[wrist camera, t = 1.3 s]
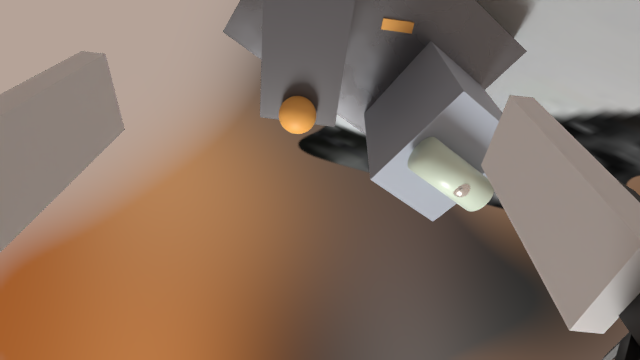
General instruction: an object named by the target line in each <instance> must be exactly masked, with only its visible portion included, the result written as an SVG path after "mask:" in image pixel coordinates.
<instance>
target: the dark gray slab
mask: <svg viewBox="0 0 640 360" xmlns="http://www.w3.org/2000/svg"><path fill="white" fill-rule="evenodd" d="M354 2H355V0H263V21H262V62H261V63H262V64H261V102H260V117H265V118H272V119H279V120H280V122H281V125H282V126H283V127H284V128H285V129H286V130H287V131H289V132H291V133H294V134H301V133H304V132H307V131H308V130H310V129H311V128H312V126H313V125H314V124H318V125H325V126H333V127H335V122H336V115H337V109H338V103H339V97H340V90H341V84H342V78H343V71H344V65H345V59H346V53H347V46H348V40H349V34H350V27H351V21H352V15H353V9H354Z"/></svg>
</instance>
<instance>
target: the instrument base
mask: <svg viewBox="0 0 640 360" xmlns="http://www.w3.org/2000/svg"><path fill="white" fill-rule="evenodd" d="M262 21H263V0H240V2H239V4H238V6H237V7H236V9H235V11H234V13H233V14H232V16H231V18H230V20H229V22H228V24H227V25H226V27H225V29H224V30H223V32H224V33H225V34H227V35H228V36H229V37H231V38H232V39H234V40H235V41H236V42H238V43H239V44H241V45H242V46H243V47H245V48H246V49H247V50H249V51H250V52H252V53H253V54H254V55H256V56H257V57H258V58H260V59H261V60H262ZM525 52H526V50H525V49H524V48H523V47H522V46H521V45H520V44H519V43H518V42H517V41H516V40H515V39H514V38H513V37H512V36H511V35H510V34H509V33H508V32H507V31H506V30H505V29H504V28H503V27H502V26H501V25H500V24H499V23H498V22H497V21H496V20H495V19H494V18H493V17H492V16H491V15H490V14H489V13H488V12H487V11H486V10H485V9H484V8H483V7H482V6H481V5H480V4H479V3H478V2H477V1H476V0H355V2H354V9H353V15H352V21H351V27H350V34H349V40H348V46H347V53H346V59H345V65H344V71H343V78H342V84H341V90H340V97H339V103H338V109H337V114H338V115H339V116H341V117H342V118H343V119H345V120H346V121H347V122H349V123H350V124H352V125H353V126H354V127H356V128H357V129H359V130H360V131H361V132H363V133H364V134H366V139H367V149H368V160H369V170H370V179H371V180H372V181H373V182H375V183H376V184H378V185H379V186H381V187H382V188H384V189H385V190H387V191H388V192H390V193H391V194H393V195H394V196H396V197H397V198H399V199H400V200H402V201H403V202H405V203H406V204H408V205H409V206H411V207H412V208H414V209H415V210H416V211H418V212H420V213H421V214H422V215H424V216H426V217H427V218H428V219H430V220H431V221H434V220H435V219H436V218H438V217H439V216H441V215H442V214H443V213H445V212H446V211H447V210H448V209H450V208H451V207H452V206H454V205H455V204H456V203H457V204H459V205H460V206H461V207H463V208H464V209H466V210H467V211H476V210H479V209H481V208H482V207H484V206H485V205H486V204H487V203H488V202H489V201H490V199H491V197H492V195H493V193H494V189H493V187H492V185H491V183H490V182H489V180H488V178H487V176H486V174H485V172H484V170H483V169H482V167H481V164H482V162H483V159H484V157H485V154H486V152H487V150H488V147H489V145H490V142H491V140H492V137H493V135H494V132H495V130H496V128H497V125H498V123H499V120H500V118H501V115H502V112H501V110H500V109H499V108H498V107H497V105H496V104H495V103H494V102H493V100H492V99H491V98H490V96H489V95H488V94H487V93H486V91H485V89H486V88H487V87H488V86H489V85H490V84H492V83H493V82H494V81H495V80H496V79H497V78H498V77H499V76H500V75H501V74H502V73H504V72H505V71H506V70H507V69H508V68H509V67H510V66H511V65H512V64H513V63H514V62H516V61H517V60H518V59H519V58H520V57H521V56H522V55H523V54H524V53H525Z"/></svg>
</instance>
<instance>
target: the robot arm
mask: <svg viewBox="0 0 640 360" xmlns="http://www.w3.org/2000/svg"><path fill="white" fill-rule="evenodd" d="M124 130H125V129H124V125H123V122H122V118H121V114H120V110H119V106H118V102H117V98H116V94H115V90H114V86H113V83H112V78H111V74H110V71H109V66H108V62H107V59H106V55H105V54H103V53H93V52H84V51H81V52H79V53H77V54H75V55H74V56H72V57H70V58H68V59H66V60H64V61H62V62H61V63H58V64H57V65H55V66H53V67H51V68H49V69H47V70H45V71H43V72H42V73H40V74H38V75H36V76H34V77H32V78H30V79H29V80H26V81H25V82H23V83H21V84H19V85H17V86H15V87H13V88H12V89H9V90H8V91H6V92H4V93H2V94H0V252H1V251H2V250H3V249H4V248H5V247H6V246H7V245H8V244H9V243H10V242H11V241H12V240H13V239H14V238H15V237H16V236H17V235H18V234H19V233H20V232H21V231H22V230H23V229H25V227H26V226H28V225H29V223H31V222H32V221H33V220H34V219H35V218H36V217H37V216H38V215H39V214H40V212H42V210H44V209H45V208H46V206H48V205H49V204H50V203H51V202H52V201H53V200H54V199H55V198H56V197H57V196H58V195H59V194H60V193H61V192H62V191H63V190H64V189H65V188H66V187H67V186H68V185H69V184H70V183H71V182H72V181H73V180H74V179H75V178H76V177H77V176H78V175H79V174H80V173H81V172H82V171H83V170H84V169H85V168H86V167H87V166H88V165H89V164H90V163H91V162H92V161H93V160H94V159H95V158H96V157H97V156H98V155H99V154H100V153H101V152H102V151H103V150H104V149H105V148H106V147H107V146H108V145H109V144H110V143H111V142H112V141H113V140H114V139H115V138H116V137H117V136H119V135H120V133H122V131H124ZM481 167H482V169H483V170H484V172H485V174H486V176H487V178H488V180H489V182H490V183H491V185H492V187H493V189H494V191H495V193H496V195H497V196H498V198H499V200H500V202H501V204H502V206H503V208H504V210H505V211H506V213H507V215H508V217H509V219H510V221H511V223H512V224H513V226H514V228H515V230H516V232H517V234H518V236H519V237H520V239H521V241H522V243H523V245H524V247H525V249H526V250H527V252H528V254H529V256H530V258H531V260H532V262H533V263H534V265H535V267H536V269H537V271H538V273H539V275H540V276H541V278H542V280H543V282H544V284H545V286H546V288H547V290H548V291H549V293H550V295H551V297H552V299H553V301H554V303H555V304H556V306H557V308H558V310H559V312H560V314H561V316H562V317H563V319H564V321H565V323H566V325H567V327H568V329H569V330H570V331H571V330H572V331H581V332H591V333H601V334H604V333H605V331H606V330H607V329H608V328H609V327H610V326H611V325H612V324H613V323H614V322H615V321H616V320H617V319H618V318H619V317H620V318H621V320H622V321H623V323H624V324H625V326H626V327H627V329H628V330H629V333H628V334H627V335H626V336H625V337H624V338H623V339H622V340H621V341H620V342H619V343H618V344H617V345H616V346H615V347H613V349H611V351H609V353H607V354H606V355H605V357H604V358H603V359H602V360H612V359H615V360H640V196H639V195H638V194H637V193H636V192H635V191H634V190H632V189H631V188H629V187H628V186H626V185H624V184H623V183H621V182H620V181H618V180H616V179H615V178H614V177H613V176H612V175H611V174H610V173H609V172H608V171H607V170H606V169H605V168H604V167H603V166H602V165H601V164H600V163H599V162H598V161H597V160H596V159H595V158H594V157H593V156H592V155H591V154H590V153H589V152H588V151H587V150H586V149H585V148H584V147H583V146H582V145H581V144H580V143H579V142H578V141H577V140H576V139H575V138H574V137H573V136H572V135H571V134H570V133H569V132H568V131H567V130H566V129H565V128H564V127H563V126H562V125H561V124H560V123H559V122H558V121H557V120H555V119H554V118H553V117H552V116H551V115H550V114H549V113H548V112H547V111H546V110H545V109H544V108H543V107H542V106H541V105H540V104H539V103H538V102H537V101H536V100H535V99H534V98H533V97H523V96H513V95H510V96H509V98H508V101H507V103H506V106H505V108H504V110H503V113H502V115H501V118H500V120H499V123H498V125H497V128H496V130H495V132H494V135H493V137H492V140H491V142H490V145H489V147H488V150H487V152H486V154H485V157H484V159H483V162H482V164H481Z"/></svg>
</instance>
